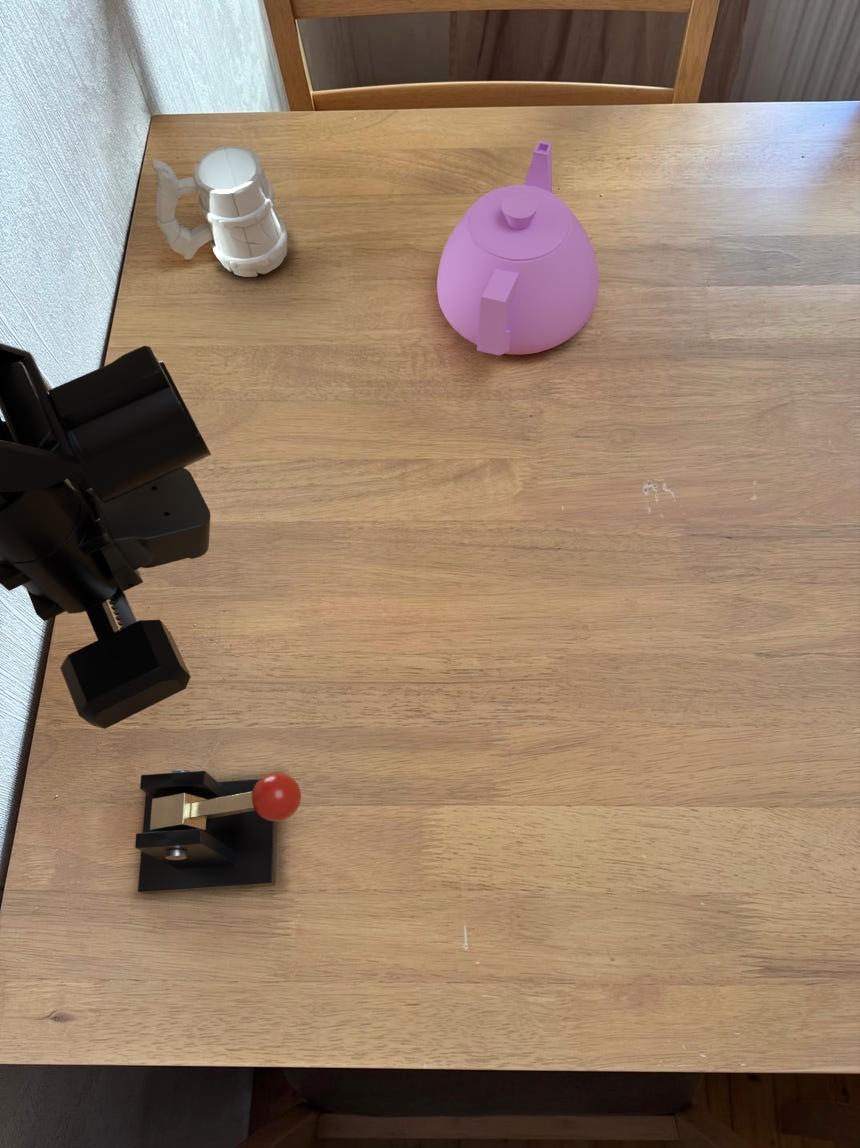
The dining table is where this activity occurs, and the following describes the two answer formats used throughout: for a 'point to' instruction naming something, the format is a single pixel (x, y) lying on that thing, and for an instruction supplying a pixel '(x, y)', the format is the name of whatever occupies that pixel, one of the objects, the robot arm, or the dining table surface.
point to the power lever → (227, 805)
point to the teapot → (519, 268)
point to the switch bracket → (205, 841)
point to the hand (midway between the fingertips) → (137, 630)
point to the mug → (225, 211)
